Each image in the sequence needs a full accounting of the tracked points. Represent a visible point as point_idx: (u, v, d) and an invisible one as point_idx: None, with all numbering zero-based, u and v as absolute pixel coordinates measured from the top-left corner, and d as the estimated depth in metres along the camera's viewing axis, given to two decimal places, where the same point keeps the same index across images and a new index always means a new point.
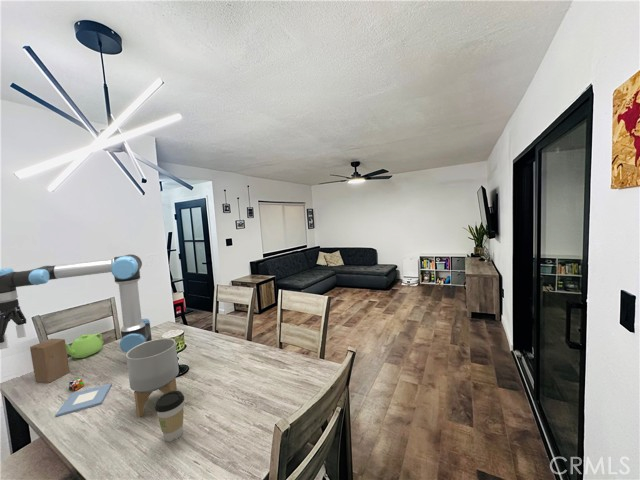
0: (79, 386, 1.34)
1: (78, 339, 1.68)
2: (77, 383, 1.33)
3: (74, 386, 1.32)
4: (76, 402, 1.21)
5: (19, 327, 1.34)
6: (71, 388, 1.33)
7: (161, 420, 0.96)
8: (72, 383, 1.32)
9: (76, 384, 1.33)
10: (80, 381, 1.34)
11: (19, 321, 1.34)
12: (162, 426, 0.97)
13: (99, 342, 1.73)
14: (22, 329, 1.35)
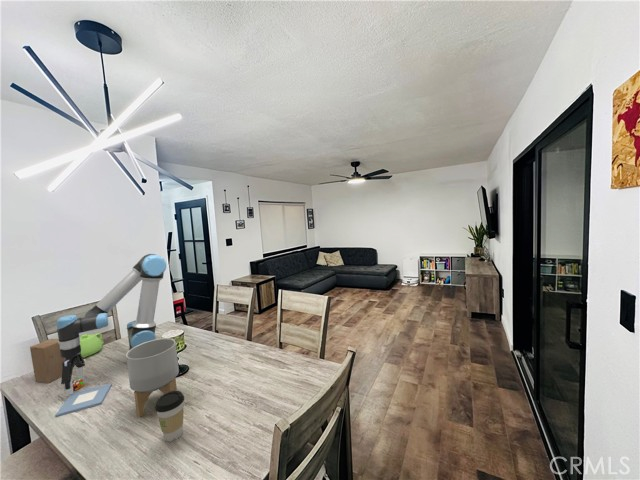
0: (79, 386, 1.34)
1: None
2: (77, 383, 1.33)
3: (74, 386, 1.32)
4: (76, 402, 1.21)
5: (79, 369, 1.39)
6: None
7: (161, 420, 0.96)
8: (72, 383, 1.32)
9: (76, 384, 1.33)
10: (80, 381, 1.34)
11: (79, 364, 1.39)
12: (162, 426, 0.97)
13: (99, 342, 1.73)
14: (81, 371, 1.40)
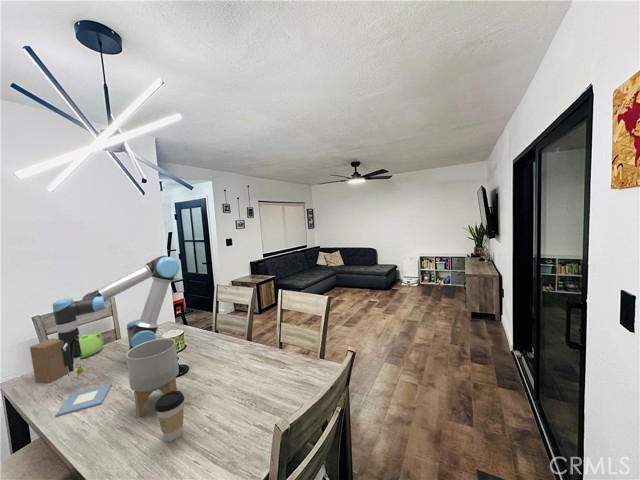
0: (78, 372, 1.33)
1: None
2: (76, 369, 1.33)
3: None
4: (76, 402, 1.21)
5: (76, 360, 1.36)
6: None
7: (161, 420, 0.96)
8: None
9: None
10: (79, 367, 1.34)
11: (76, 353, 1.36)
12: (162, 426, 0.97)
13: (99, 342, 1.73)
14: (79, 362, 1.36)
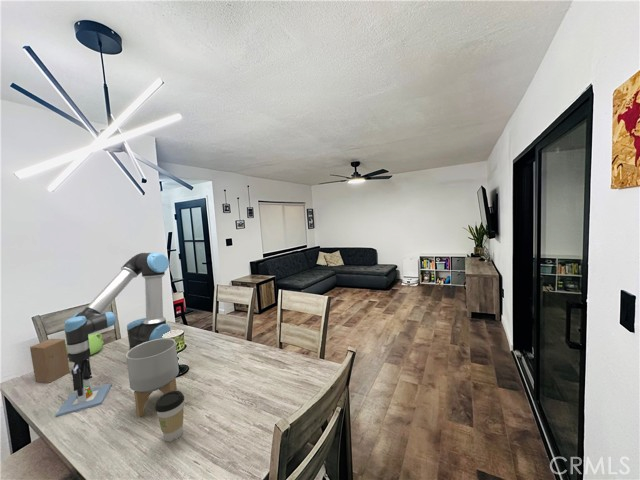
0: (87, 395, 1.24)
1: None
2: (85, 392, 1.23)
3: None
4: (76, 402, 1.21)
5: (85, 382, 1.27)
6: None
7: (161, 420, 0.96)
8: None
9: None
10: (88, 389, 1.25)
11: (86, 374, 1.27)
12: (162, 426, 0.97)
13: (99, 342, 1.73)
14: (88, 384, 1.27)
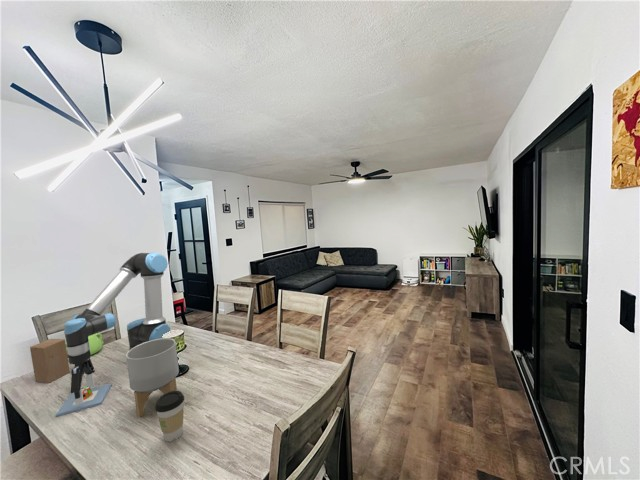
0: (87, 395, 1.24)
1: None
2: (85, 392, 1.23)
3: None
4: None
5: (88, 376, 1.30)
6: None
7: (161, 420, 0.96)
8: None
9: (84, 393, 1.23)
10: (88, 389, 1.25)
11: (89, 371, 1.29)
12: (162, 426, 0.97)
13: (99, 342, 1.73)
14: (91, 379, 1.31)
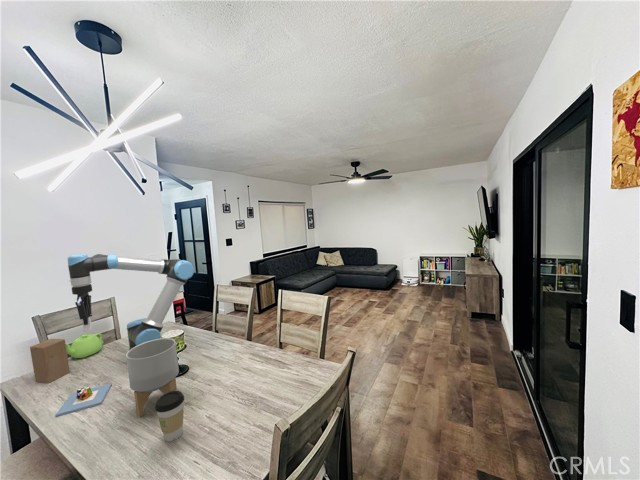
0: (87, 395, 1.24)
1: (78, 339, 1.68)
2: (85, 392, 1.23)
3: (82, 395, 1.22)
4: (76, 402, 1.21)
5: None
6: (79, 397, 1.23)
7: (161, 420, 0.96)
8: (80, 392, 1.23)
9: (84, 393, 1.23)
10: (88, 389, 1.25)
11: None
12: (162, 426, 0.97)
13: (99, 342, 1.73)
14: None
